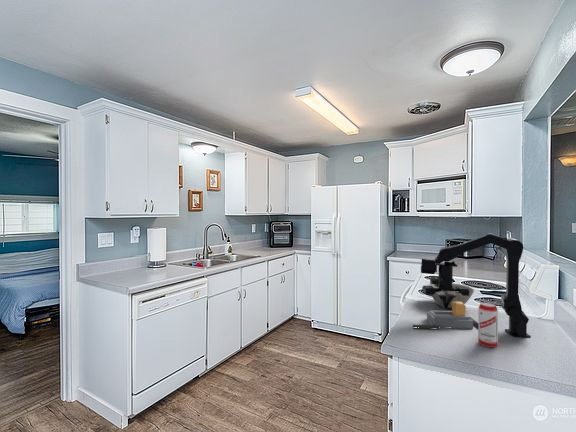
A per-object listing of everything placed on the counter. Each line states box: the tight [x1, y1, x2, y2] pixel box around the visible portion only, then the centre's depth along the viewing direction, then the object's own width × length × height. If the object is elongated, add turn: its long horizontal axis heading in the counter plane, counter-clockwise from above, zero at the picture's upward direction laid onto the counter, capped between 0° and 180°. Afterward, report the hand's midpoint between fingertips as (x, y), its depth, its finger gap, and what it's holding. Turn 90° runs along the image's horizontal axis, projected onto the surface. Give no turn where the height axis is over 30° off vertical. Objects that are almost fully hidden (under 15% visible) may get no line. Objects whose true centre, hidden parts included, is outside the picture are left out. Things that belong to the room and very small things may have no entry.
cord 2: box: [469, 316, 479, 328], centre depth 136 cm, size 11×2×2 cm, turn 173°
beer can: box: [477, 301, 499, 348], centre depth 116 cm, size 6×6×16 cm
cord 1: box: [412, 324, 440, 330], centre depth 132 cm, size 2×11×2 cm, turn 83°
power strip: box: [426, 310, 474, 330], centre depth 137 cm, size 10×16×5 cm, turn 83°
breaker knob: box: [451, 301, 466, 316], centre depth 136 cm, size 4×4×6 cm
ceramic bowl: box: [426, 283, 475, 309], centre depth 159 cm, size 22×23×10 cm
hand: (445, 309), depth 137 cm, fingers closed
